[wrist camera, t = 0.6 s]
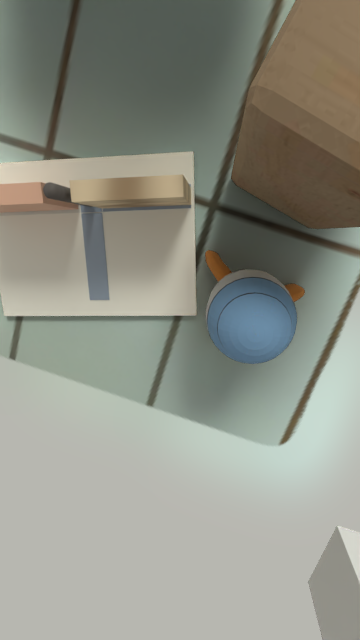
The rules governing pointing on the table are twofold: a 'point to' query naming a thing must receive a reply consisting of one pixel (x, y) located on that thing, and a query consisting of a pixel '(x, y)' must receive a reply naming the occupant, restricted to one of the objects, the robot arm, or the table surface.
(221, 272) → the toy rocket
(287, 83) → the wooden block
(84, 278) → the card
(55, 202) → the hinged fence panel
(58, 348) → the table surface
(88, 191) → the fixed fence panel
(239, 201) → the table surface
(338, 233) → the table surface
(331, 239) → the table surface
